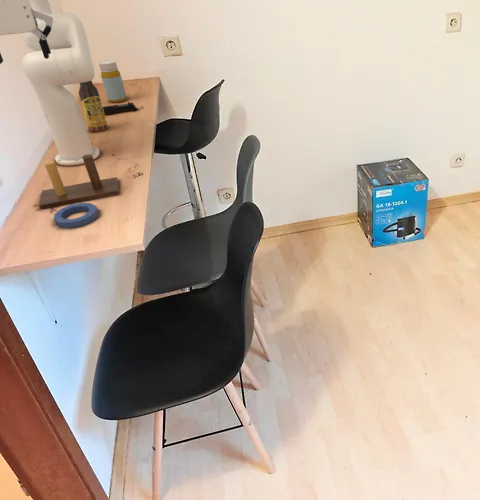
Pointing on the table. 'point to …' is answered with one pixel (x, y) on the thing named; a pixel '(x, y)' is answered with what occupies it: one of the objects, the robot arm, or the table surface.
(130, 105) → the electric trimmer
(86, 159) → the rack
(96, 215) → the ring
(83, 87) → the sauce bottle
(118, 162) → the table surface
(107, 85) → the bottle
